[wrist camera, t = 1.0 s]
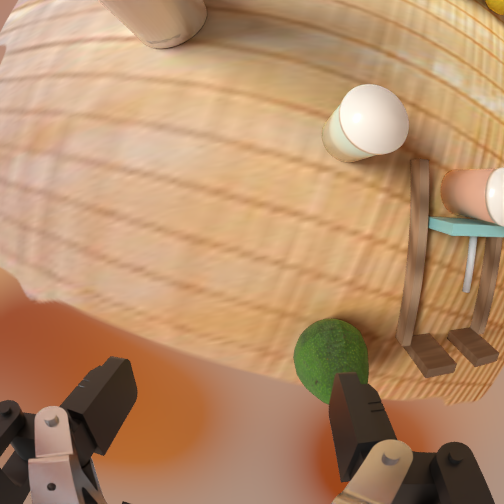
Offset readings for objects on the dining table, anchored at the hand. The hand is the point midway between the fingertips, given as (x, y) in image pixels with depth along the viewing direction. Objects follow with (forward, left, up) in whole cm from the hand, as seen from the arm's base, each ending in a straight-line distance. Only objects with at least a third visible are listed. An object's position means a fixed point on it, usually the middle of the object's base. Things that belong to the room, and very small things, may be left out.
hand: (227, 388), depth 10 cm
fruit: (+10, +8, -23) cm, 26 cm away
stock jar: (-8, +25, -23) cm, 34 cm away
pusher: (0, +25, -23) cm, 34 cm away
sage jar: (-13, +10, -23) cm, 28 cm away
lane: (0, +25, -23) cm, 34 cm away
